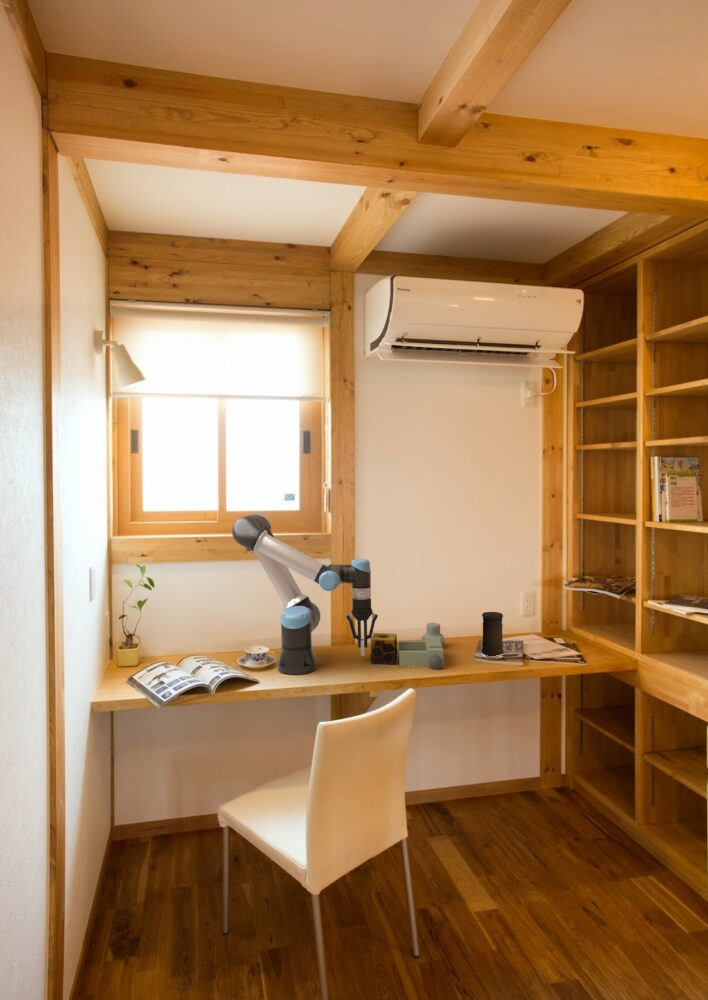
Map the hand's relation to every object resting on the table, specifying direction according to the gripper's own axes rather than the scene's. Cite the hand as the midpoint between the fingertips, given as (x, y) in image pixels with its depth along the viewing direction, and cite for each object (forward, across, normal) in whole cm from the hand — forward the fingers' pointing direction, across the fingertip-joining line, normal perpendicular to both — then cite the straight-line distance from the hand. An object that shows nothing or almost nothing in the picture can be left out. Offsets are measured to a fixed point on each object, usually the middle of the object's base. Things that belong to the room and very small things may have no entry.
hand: (362, 655), depth 263 cm
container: (+3, +53, +6) cm, 53 cm away
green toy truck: (+2, +23, 0) cm, 23 cm away
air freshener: (+3, +30, +20) cm, 36 cm away
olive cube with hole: (+3, +9, 0) cm, 9 cm away
